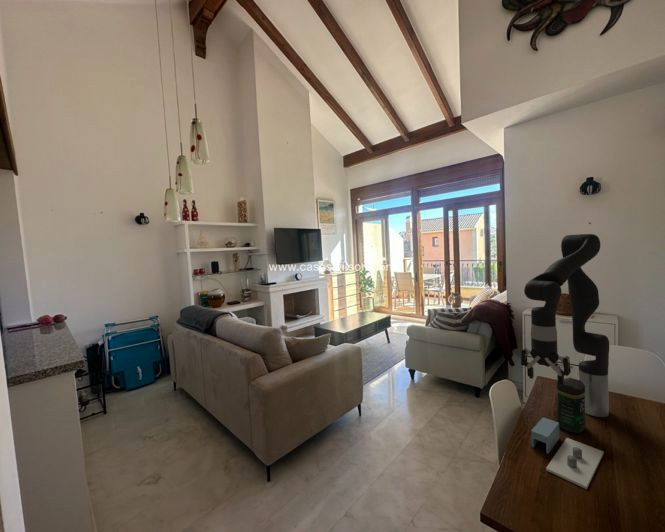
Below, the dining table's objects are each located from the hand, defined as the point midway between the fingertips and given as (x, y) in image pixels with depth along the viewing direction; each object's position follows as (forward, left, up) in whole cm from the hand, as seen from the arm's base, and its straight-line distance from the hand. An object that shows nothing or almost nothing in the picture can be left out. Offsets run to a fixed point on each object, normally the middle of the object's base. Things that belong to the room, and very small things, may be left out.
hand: (545, 381), depth 105 cm
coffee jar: (-17, +3, -23) cm, 29 cm away
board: (+4, +9, -23) cm, 25 cm away
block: (0, 0, -23) cm, 23 cm away
